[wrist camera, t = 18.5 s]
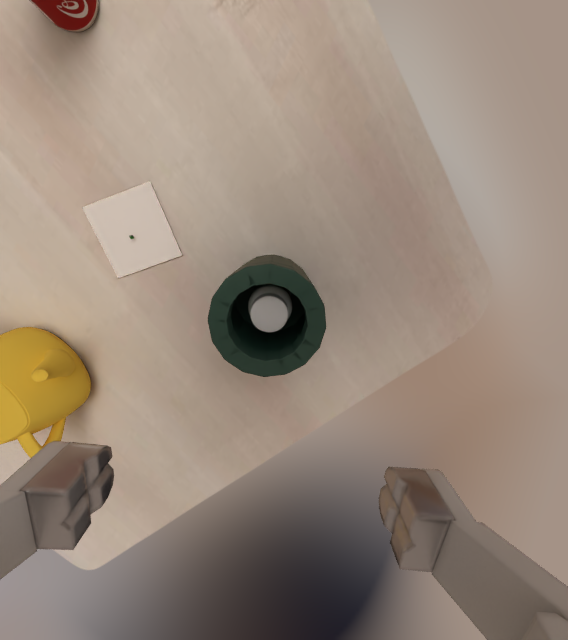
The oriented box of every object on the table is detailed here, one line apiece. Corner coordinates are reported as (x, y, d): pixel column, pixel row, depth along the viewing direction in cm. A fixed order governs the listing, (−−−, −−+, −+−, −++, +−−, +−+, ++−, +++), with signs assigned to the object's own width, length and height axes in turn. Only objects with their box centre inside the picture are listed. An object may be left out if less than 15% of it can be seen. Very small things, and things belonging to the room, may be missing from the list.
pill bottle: (298, 296, 32) (303, 314, 25) (271, 322, 33) (269, 346, 26) (271, 269, 31) (269, 279, 24) (244, 296, 32) (234, 314, 25)
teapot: (109, 335, 34) (43, 373, 25) (96, 424, 38) (34, 488, 28) (-10, 303, 33) (-128, 330, 23) (-11, 398, 36) (-115, 456, 27)
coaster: (150, 181, 29) (146, 179, 28) (182, 255, 31) (180, 255, 31) (81, 207, 30) (76, 206, 29) (118, 278, 32) (114, 279, 31)
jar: (306, 250, 31) (320, 257, 21) (314, 328, 34) (329, 369, 24) (224, 260, 32) (197, 272, 21) (238, 337, 34) (220, 382, 24)
